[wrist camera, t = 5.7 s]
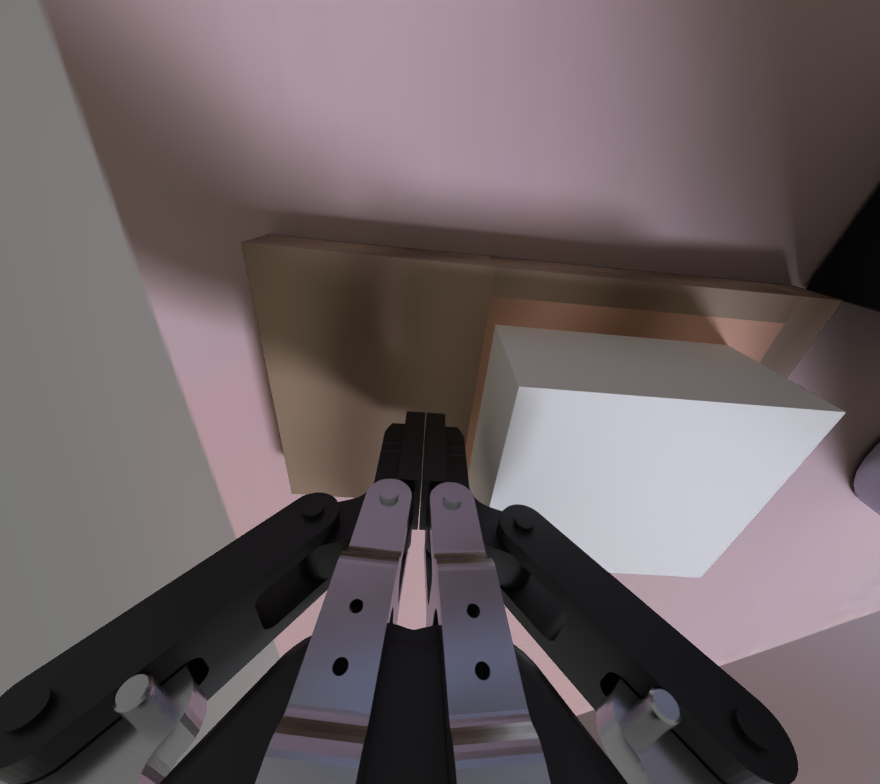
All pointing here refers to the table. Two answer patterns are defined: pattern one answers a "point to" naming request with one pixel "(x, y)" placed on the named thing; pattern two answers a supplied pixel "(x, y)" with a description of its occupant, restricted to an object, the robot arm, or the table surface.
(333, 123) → the table surface
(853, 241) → the black rectangular column
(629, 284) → the podium
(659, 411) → the carton
